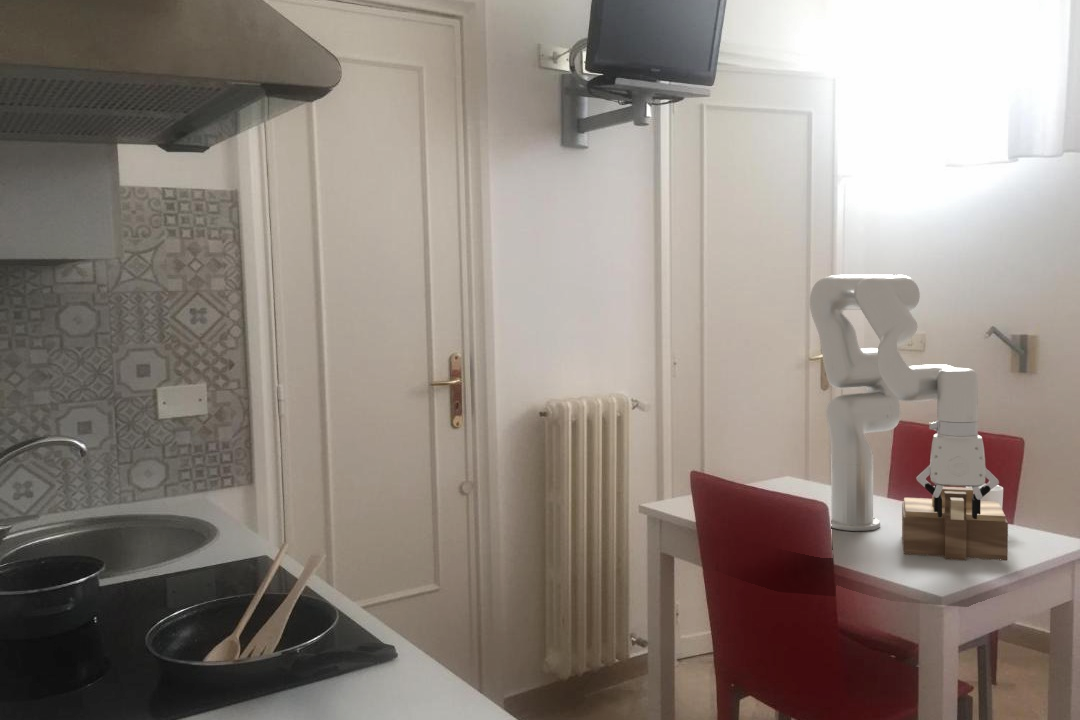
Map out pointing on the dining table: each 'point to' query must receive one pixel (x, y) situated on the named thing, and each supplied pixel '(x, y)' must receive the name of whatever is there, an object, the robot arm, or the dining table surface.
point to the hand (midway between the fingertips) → (956, 515)
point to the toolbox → (954, 535)
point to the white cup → (993, 494)
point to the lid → (926, 507)
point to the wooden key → (956, 508)
